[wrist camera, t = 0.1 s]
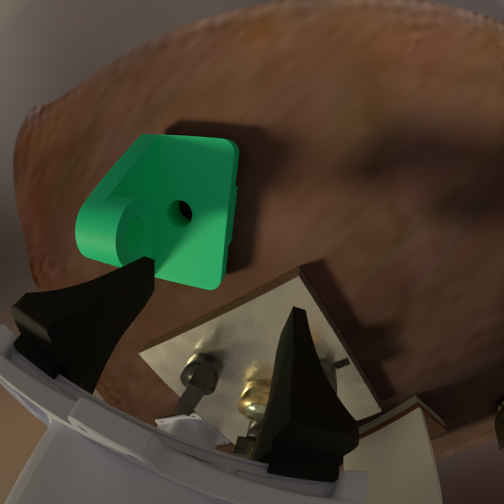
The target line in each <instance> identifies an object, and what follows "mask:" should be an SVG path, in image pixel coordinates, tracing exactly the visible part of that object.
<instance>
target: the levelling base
mask: <svg viewBox="0 0 504 504" xmlns="http://www.w3.org/2000/svg"><path fill="white" fill-rule="evenodd" d="M293 306H295V307H298V308H301V309H305V310H306V312H307V318H308V323H309V327H310V332H311V335H312V339H313V342H314V346H315V349H316V352H317V355H318V357H319V360H320V361H326V362H329V363H331V364H332V365H333V366H334V367H335V369H336V375H337V396H338V397H339V399H340V401H341V402H342V403H343V405H344V406H345V408H346V409H347V410H348V411H349V413H350V414H351V415H352V416H353V417H354V419H355V420H356V421H358V420H361V419H363V418H366V417H369V416H371V415H374V414H377V413H379V412H382V410H381V405H380V399H379V397H378V396H377V394H376V392H375V390H374V389H373V387H372V385H371V383H370V382H369V380H368V378H367V376H366V375H365V373H364V371H363V370H362V368H361V366H360V364H359V363H358V361H357V359H356V358H355V356H354V354H353V352H352V351H351V349H350V347H349V346H348V344H347V342H346V341H345V339H344V337H343V336H342V334H341V332H340V331H339V329H338V327H337V326H336V324H335V322H334V321H333V319H332V317H331V316H330V314H329V313H328V311H327V309H326V308H325V306H324V304H323V303H322V301H321V300H320V298H319V296H318V295H317V293H316V291H315V290H314V288H313V287H312V285H311V283H310V282H309V280H308V279H307V277H306V276H305V274H304V272H303V271H302V269H301V268H300V266H298V267H296V268H295V269H293V270H291V271H289V272H287V273H285V274H283V275H281V276H280V277H278V278H276V279H274V280H272V281H270V282H268V283H266V284H264V285H263V286H261V287H259V288H257V289H255V290H253V291H251V292H249V293H247V294H245V295H243V296H241V297H239V298H237V299H235V300H233V301H232V302H230V303H228V304H226V305H224V306H222V307H220V308H218V309H216V310H214V311H212V312H210V313H208V314H206V315H204V316H202V317H200V318H198V319H196V320H194V321H192V322H189V323H187V324H185V325H183V326H181V327H179V328H177V329H175V330H173V331H171V332H169V333H167V334H165V335H163V336H161V337H158V338H156V339H154V340H152V341H150V342H148V343H146V344H145V346H144V347H143V348H142V350H141V351H140V352H139V355H140V356H141V357H142V358H143V359H144V360H145V361H146V362H147V364H148V365H149V366H150V367H151V368H152V369H153V370H154V371H155V372H156V373H157V374H158V375H159V376H160V377H161V378H162V379H163V380H164V381H165V383H166V384H167V385H168V386H169V387H170V388H171V389H172V390H173V391H174V392H175V393H177V394H178V395H179V396H180V399H179V401H178V403H177V405H176V407H175V409H174V410H176V411H178V412H180V413H182V414H184V415H186V416H188V417H189V416H190V415H191V413H192V412H193V411H196V412H197V413H198V414H199V415H200V416H201V417H202V418H203V419H205V420H206V421H207V422H208V423H209V424H210V425H211V426H213V427H214V428H215V429H216V430H217V431H218V432H220V433H221V434H222V435H223V436H225V437H226V438H227V439H228V440H229V441H231V442H232V443H233V444H235V448H234V452H233V454H234V456H237V457H241V458H245V459H250V456H251V453H252V451H253V448H254V445H255V442H256V439H257V436H258V432H259V429H260V426H261V423H262V419H263V416H264V413H265V409H266V406H267V402H268V398H269V394H270V389H271V383H272V376H273V369H274V363H275V356H276V350H277V346H278V342H279V339H280V335H281V332H282V330H283V328H284V325H285V323H286V321H287V319H288V317H289V314H290V312H291V310H292V307H293Z"/></svg>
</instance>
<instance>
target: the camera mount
mask: <svg viewBox="0 0 504 504" xmlns="http://www.w3.org/2000/svg"><path fill="white" fill-rule="evenodd" d="M238 160H239V148H238V146H237V145H236V143H235V142H233V141H232V140H229V139H221V138H209V137H196V136H179V135H153V134H142V135H141V136H140V137H139V138H138V139H137V140H136V141H135V142H134V143H133V145H132V146H131V147H130V148H129V149H128V150H127V151H126V152H125V153H124V155H123V156H122V157H121V158H120V159H119V160H118V161H117V163H116V164H115V165H114V166H113V167H112V168H111V170H110V171H109V172H108V173H107V174H106V176H105V177H104V178H103V179H102V181H101V182H100V183H99V184H98V186H97V187H96V188H95V189H94V191H93V192H92V193H91V195H90V196H89V197H88V198H87V200H86V201H85V202H84V204H83V205H82V207H81V209H80V211H79V214H78V217H77V221H76V228H75V236H76V242H77V246H78V248H79V250H80V252H81V253H82V254H83V255H84V256H85V257H87V258H90V259H94V260H97V261H100V262H103V263H107V264H110V265H113V266H117V267H120V268H121V267H123V266H125V265H127V264H129V263H131V262H133V261H135V260H137V259H139V258H141V257H144V256H146V257H149V258H152V259H154V260H155V276H154V277H157V278H161V279H165V280H169V281H173V282H177V283H181V284H186V285H190V286H194V287H199V288H203V289H208V290H213V289H216V288H217V287H218V286H219V285H220V283H221V282H222V280H223V278H224V277H225V274H226V265H227V256H228V246H229V244H230V243H231V240H232V231H233V222H234V214H235V205H236V197H237V188H238V186H235V184H236V176H237V168H238ZM181 200H182V201H184V202H186V203H187V204H188V205H189V206H190V208H191V210H192V220H190V219H187V218H185V217H184V216H183V215H182V214H181V212H180V208H179V205H180V201H181Z"/></svg>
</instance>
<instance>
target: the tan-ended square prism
mask: <svg viewBox="0 0 504 504" xmlns="http://www.w3.org/2000/svg"><path fill="white" fill-rule="evenodd" d="M320 363H321V365H322V367H323V370H324V372H325V374H326V376H327V378H328V380H329V382H330V384H331V386H332V388H333V389H334V391H335V392H336V394H337V375H336V369H335V367H334V366H333V365H332V364H331V363H329V362H326V361H320Z"/></svg>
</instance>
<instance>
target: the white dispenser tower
mask: <svg viewBox="0 0 504 504" xmlns="http://www.w3.org/2000/svg"><path fill="white" fill-rule="evenodd" d="M446 431H447V430H446V427H445V424H444V421H443V420H442V419H441V418H440V417H439V416H438V415H437V414H436V413H434V412H433V411H432V410H431V409H430V408H429V407H428V406H427V405H426V404H425V403H424V402H423V401H421V400H420V399H419V398H418V397H417V396H416V395H415V396H413V397H412V398H410V399H409V400H407V401H405V402H404V403H402V404H400V405H399V406H397V407H395V408H394V409H392V410H390V411H389V412H387V413H385V414H383V415H382V416H380V417H378V418H376V419H374V420H373V421H371V422H369V423H367V424H365V425H363V426H361V427H359V445H358V447H357V448H355V449H354V450H353V451H351V452H350V453H348V454H347V455H345V456H344V470H354V471H367V472H369V475H368V490H367V501H366V504H443V502H442V495H441V489H440V483H439V478H438V473H437V468H436V463H435V458H434V454H433V450H432V445H431V440H433V439H434V438H436V437H438V436H439V435H441V434H443V433H444V432H446Z"/></svg>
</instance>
